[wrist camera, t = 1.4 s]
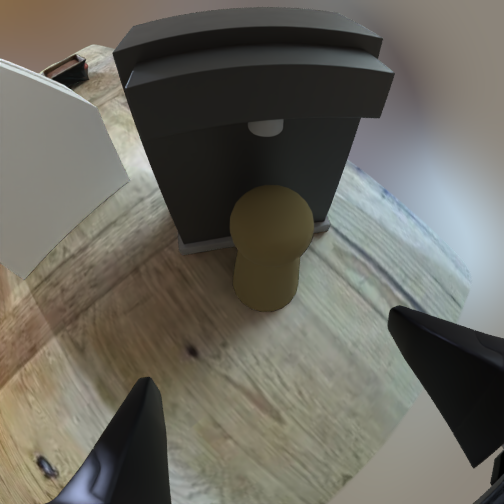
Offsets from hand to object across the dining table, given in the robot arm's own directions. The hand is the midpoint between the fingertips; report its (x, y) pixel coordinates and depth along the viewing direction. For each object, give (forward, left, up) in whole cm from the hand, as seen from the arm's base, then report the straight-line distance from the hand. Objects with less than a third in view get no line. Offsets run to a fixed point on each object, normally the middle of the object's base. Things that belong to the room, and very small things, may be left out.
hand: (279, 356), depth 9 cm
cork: (+6, -6, -14) cm, 17 cm away
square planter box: (+80, -6, -14) cm, 81 cm away
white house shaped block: (+34, +7, -14) cm, 37 cm away
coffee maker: (+11, -9, -14) cm, 20 cm away
